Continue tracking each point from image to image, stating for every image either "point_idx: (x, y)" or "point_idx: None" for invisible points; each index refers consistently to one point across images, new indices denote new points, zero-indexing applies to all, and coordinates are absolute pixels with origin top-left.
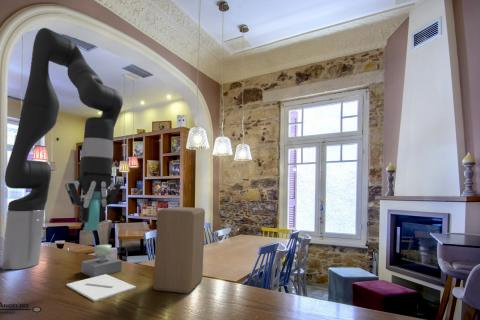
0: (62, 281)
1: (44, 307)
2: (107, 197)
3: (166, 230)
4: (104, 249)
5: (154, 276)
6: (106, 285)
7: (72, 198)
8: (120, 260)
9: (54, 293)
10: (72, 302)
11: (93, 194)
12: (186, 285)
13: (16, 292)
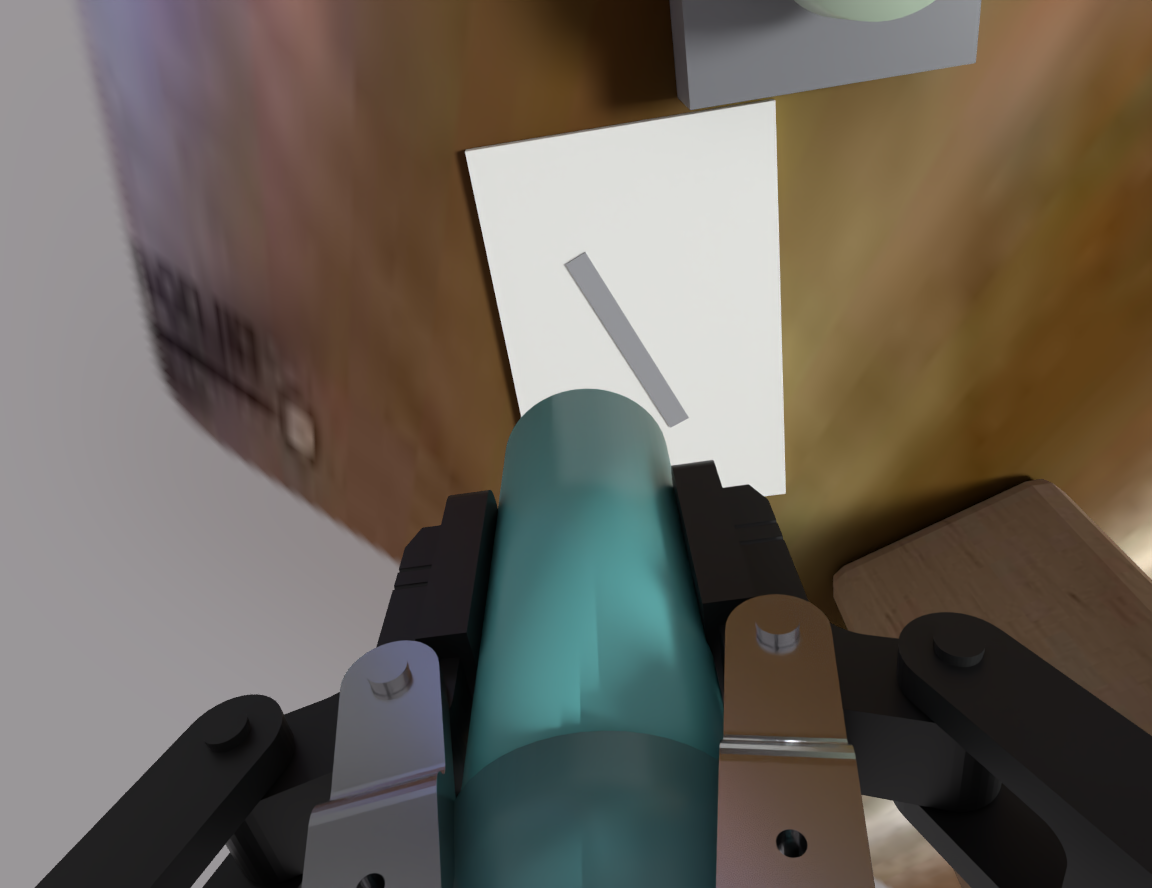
0: (457, 2)
1: (330, 434)
2: (1000, 769)
3: None
4: (850, 19)
5: (850, 627)
6: (668, 367)
7: (143, 854)
8: (970, 42)
9: (384, 257)
10: (454, 458)
11: None
12: None
13: (155, 49)
